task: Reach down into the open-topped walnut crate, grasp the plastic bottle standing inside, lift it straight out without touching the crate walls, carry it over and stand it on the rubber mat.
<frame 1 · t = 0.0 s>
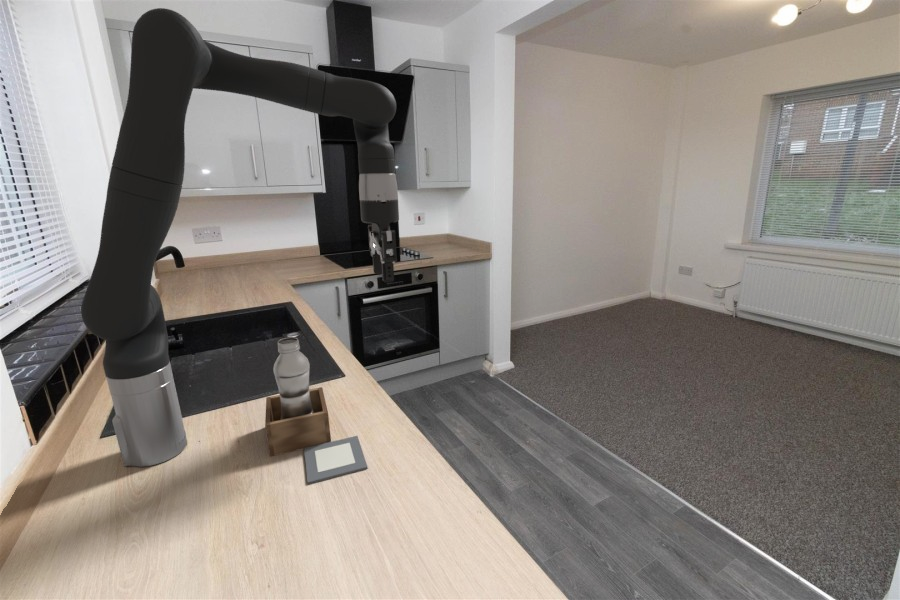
hand: (383, 277, 86), 29 cm above the worktop, fingers open, 8 cm apart
crate: (299, 433, 83), on the worktop
plastic bottle: (299, 434, 83), resting in crate
mat: (334, 458, 75), on the worktop
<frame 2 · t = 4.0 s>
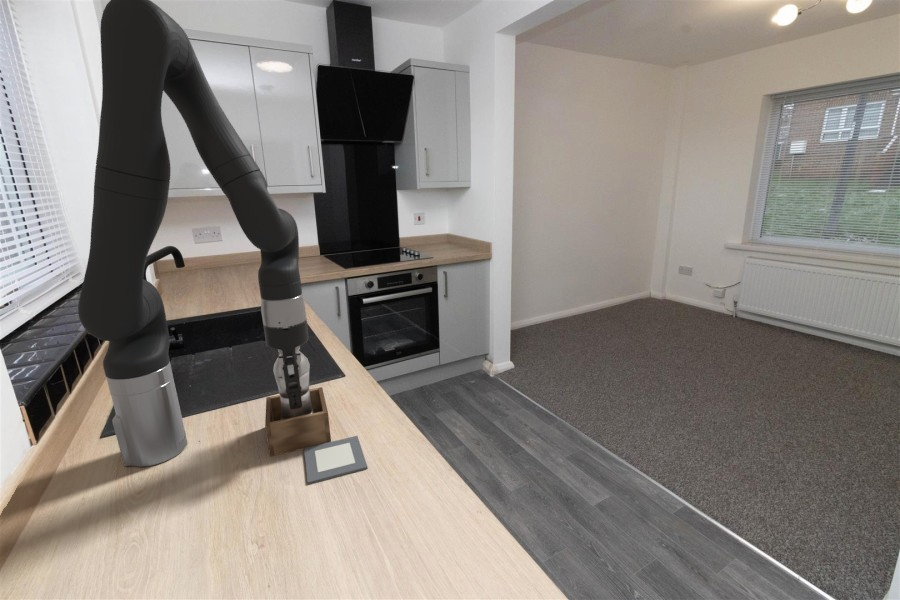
hand: (295, 399, 81), 8 cm above the worktop, fingers closed on plastic bottle, 6 cm apart
plastic bottle: (299, 434, 83), resting in crate, touching gripper
when the fingers open (9 cm above the worktop, at t = 10.5 s): plastic bottle stays where it is, resting on mat.
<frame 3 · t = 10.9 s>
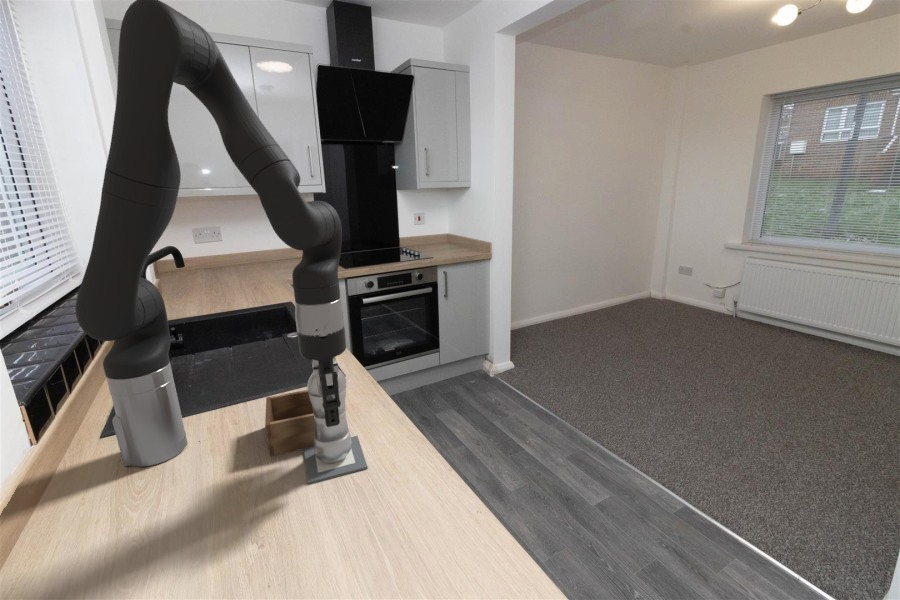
hand: (329, 412, 72), 10 cm above the worktop, fingers open, 8 cm apart
plastic bottle: (334, 457, 75), resting on mat
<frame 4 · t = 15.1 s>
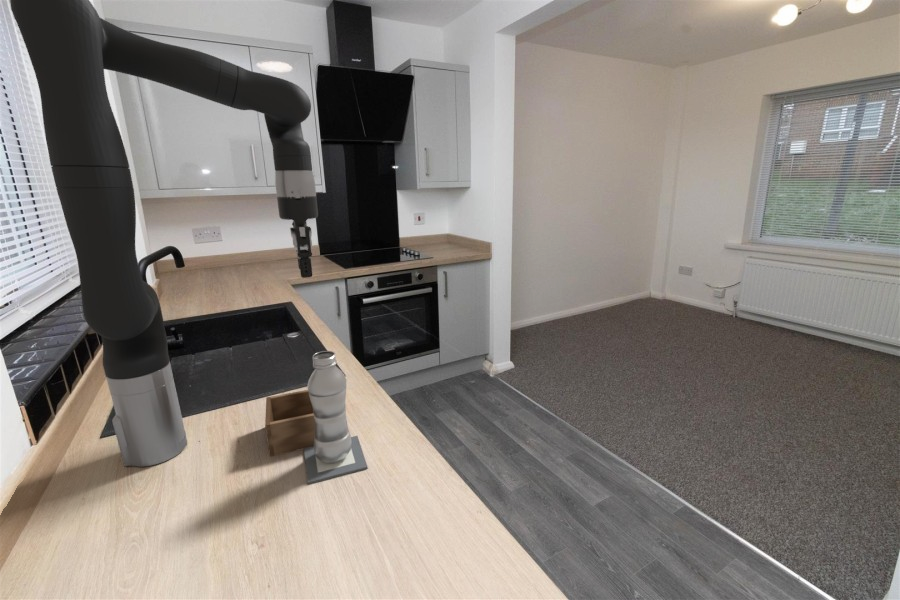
hand: (305, 273, 87), 30 cm above the worktop, fingers open, 8 cm apart
nothing on the worktop moved.
at the end: plastic bottle inside the target area on the mat (0.1 cm from its centre), point 0.3 cm above the mat's base; plastic bottle tilted 0°; plastic bottle touching mat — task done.
